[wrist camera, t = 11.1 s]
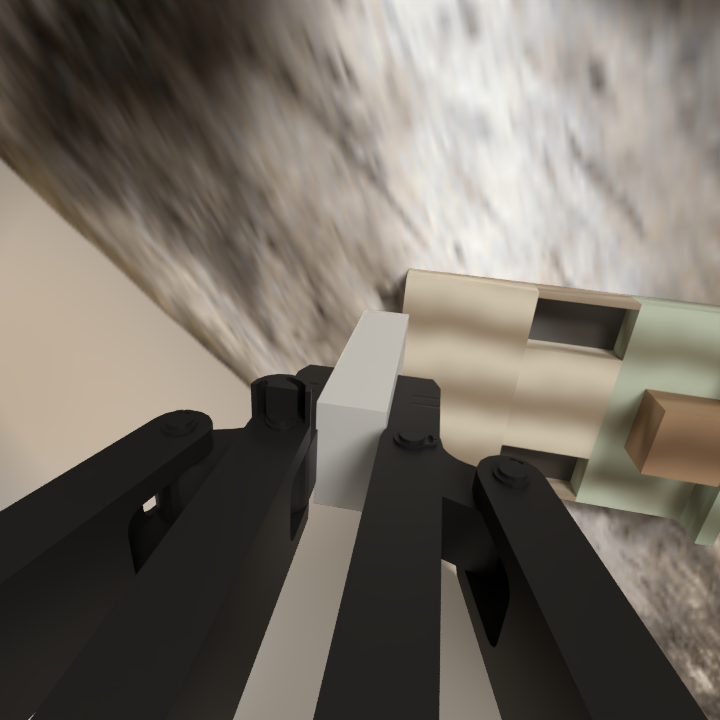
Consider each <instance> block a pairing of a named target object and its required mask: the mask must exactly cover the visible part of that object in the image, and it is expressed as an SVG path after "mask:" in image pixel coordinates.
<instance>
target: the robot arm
mask: <svg viewBox="0 0 720 720" xmlns="http://www.w3.org/2000/svg"><path fill="white" fill-rule="evenodd" d="M408 320H409V314H402V313H393V312H384V311H376V310H367V309H365V310H364V312H363V314H362V316H361V318H360V320H359V322H358V324H357V326H356V328H355V330H354V332H353V333H352V335H351V337H350V339H349V341H348V343H347V345H346V347H345V349H344V351H343V353H342V355H341V357H340V358H339V360H338V362H337V364H336V366H335V368H333V367H325V366H318V365H309V366H307V367H305V368H303V369H302V370H300V371H298V373H297V374H296V376H294V375H288V374H275V375H268V376H264V377H261V378H259V379H257V380H255V381H254V382H253V383H251V402H252V418H251V419H250V421H249V422H248V423H247V425H246V426H245V427H244V428H237V429H219V430H213V422H212V420H211V418H210V417H209V416H208V415H206V414H204V413H202V412H198V411H193V410H177V411H174V412H169V413H165V414H163V415H161V416H159V417H157V418H155V419H153V420H151V421H150V422H148V423H146V424H145V425H143V426H141V427H140V428H138V429H137V430H135V431H133V432H131V433H130V434H128V435H126V436H125V437H124V438H121V439H120V440H118V441H116V442H115V443H113V444H112V445H110V446H108V447H106V448H105V449H103V450H102V451H100V452H98V453H97V454H95V455H93V456H92V457H90V458H88V459H87V460H85V461H83V462H82V463H80V464H78V465H77V466H75V467H73V468H72V469H70V470H68V471H67V472H65V473H63V474H62V475H60V476H58V477H57V478H55V479H53V480H52V481H50V482H49V483H47V484H45V485H44V486H42V487H40V488H39V489H37V490H35V491H34V492H32V493H30V494H29V495H27V496H25V497H24V498H22V499H20V500H19V501H17V502H15V503H14V504H12V505H10V506H9V507H7V508H5V509H4V510H2V511H0V720H28V719H29V718H30V717H31V716H32V715H33V714H34V713H35V714H34V715H33V717H32V718H31V719H30V720H233V718H234V715H235V713H236V710H237V707H238V704H239V701H240V699H241V696H242V694H243V691H244V689H245V686H246V683H247V680H248V678H249V675H250V672H251V670H252V667H253V664H254V662H255V659H256V656H257V653H258V651H259V648H260V646H261V643H262V640H263V638H264V635H265V632H266V630H267V627H268V624H269V621H270V619H271V616H272V614H273V611H274V608H275V606H276V603H277V600H278V597H279V595H280V592H281V589H282V587H283V584H284V581H285V579H286V576H287V573H288V571H289V568H290V565H291V563H292V560H293V557H294V555H295V552H296V549H297V546H298V544H299V541H300V539H301V536H302V533H303V531H304V528H305V525H306V522H307V520H308V510H309V498H310V496H311V493H312V491H313V488H314V503H316V504H321V505H327V506H333V507H339V508H345V509H351V510H357V511H362V515H361V520H360V524H359V528H358V532H357V537H356V541H355V545H354V549H353V553H352V558H351V562H350V566H349V570H348V574H347V579H346V583H345V587H344V591H343V596H342V600H341V604H340V608H339V613H338V617H337V621H336V625H335V629H334V634H333V638H332V642H331V646H330V650H329V655H328V659H327V663H326V667H325V671H324V676H323V680H322V685H321V688H320V693H319V697H318V701H317V706H316V710H315V714H314V718H313V720H439V692H440V691H439V689H440V615H441V613H440V612H441V607H440V606H441V559H443V560H445V561H447V562H449V563H452V564H454V565H456V570H457V577H458V580H459V583H460V587H461V590H462V593H463V596H464V599H465V603H466V606H467V609H468V612H469V615H470V618H471V622H472V625H473V628H474V632H475V634H476V638H477V641H478V644H479V648H480V651H481V654H482V657H483V660H484V664H485V667H486V670H487V673H488V676H489V680H490V683H491V686H492V689H493V693H494V696H495V699H496V702H497V705H498V709H499V712H500V715H501V718H502V720H708V719H707V717H706V716H705V714H704V713H703V711H702V710H701V708H700V707H699V705H698V704H697V703H696V701H695V700H694V698H693V697H692V695H691V694H690V692H689V691H688V689H687V688H686V686H685V685H684V683H683V682H682V680H681V679H680V677H679V676H678V674H677V673H676V671H675V670H674V668H673V667H672V665H671V664H670V662H669V661H668V659H667V658H666V656H665V655H664V653H663V652H662V650H661V649H660V647H659V646H658V644H657V643H656V641H655V640H654V638H653V637H652V635H651V634H650V632H649V631H648V629H647V628H646V626H645V625H644V623H643V622H642V621H641V619H640V618H639V616H638V615H637V613H636V612H635V610H634V609H633V607H632V606H631V604H630V603H629V601H628V600H627V598H626V597H625V595H624V594H623V592H622V591H621V589H620V588H619V586H618V585H617V583H616V582H615V580H614V579H613V577H612V576H611V574H610V573H609V571H608V570H607V568H606V567H605V565H604V564H603V562H602V561H601V559H600V558H599V556H598V555H597V553H596V552H595V550H594V549H593V547H592V546H591V544H590V543H589V541H588V540H587V538H586V537H585V536H584V534H583V533H582V531H581V530H580V528H579V527H578V525H577V524H576V522H575V521H574V519H573V518H572V516H571V515H570V513H569V512H568V510H567V509H566V507H565V506H564V504H563V503H562V501H561V500H560V498H559V497H558V495H557V494H556V492H555V491H554V489H553V488H552V486H551V485H550V483H549V482H548V480H547V479H546V477H545V476H544V475H543V474H542V473H541V472H540V471H539V470H538V469H537V468H536V467H535V466H533V465H531V464H530V463H528V462H526V461H524V460H522V459H519V458H516V457H513V456H505V455H494V456H488V457H486V458H484V459H482V460H480V462H479V464H478V465H477V467H476V466H473V465H470V464H468V463H465V462H463V461H461V460H458V459H456V458H455V457H453V456H452V455H450V454H449V453H448V452H447V451H446V450H445V449H444V448H443V444H442V441H441V438H440V399H441V389H440V387H439V386H438V385H437V383H436V382H435V381H434V380H433V379H426V378H419V377H411V376H403V375H402V372H403V364H404V355H405V346H406V338H407V329H408ZM153 496H155V498H156V505H155V506H154V507H153V508H151V509H150V510H148V511H146V512H144V510H143V504H144V503H146V502H147V501H148V500H149V499H151V498H152V497H153Z"/></svg>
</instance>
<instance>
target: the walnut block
mask: <svg viewBox="0 0 720 720" xmlns="http://www.w3.org/2000/svg"><path fill="white" fill-rule="evenodd" d="M624 448H625V450H626V451H627V453H628V455H629V456H630V458H631V459H632V461H633V463H634V464H635V466H636V467H637V469H638V471H639V472H640V474H645V475H651V476H657V477H663V478H668V479H674V480H680V481H686V482H692V483H698V484H704V485H710V486H716V487H718V486H719V484H720V400H718V399H712V398H705V397H698V396H691V395H685V394H678V393H671V392H664V391H658V390H651V389H646V390H645V393H644V395H643V398H642V400H641V403H640V406H639V408H638V411H637V414H636V416H635V419H634V422H633V424H632V427H631V430H630V432H629V435H628V438H627V440H626V443H625V446H624Z"/></svg>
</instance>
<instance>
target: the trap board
mask: <svg viewBox="0 0 720 720" xmlns="http://www.w3.org/2000/svg"><path fill="white" fill-rule="evenodd" d="M402 314H409V320H408V329H407V338H406V346H405V355H404V364H403V372H402V375H403V376H411V377H419V378H426V379H433V380H434V381H435V382H436V383H437V385H438V386H439V387H440V389H441V399H440V438H441V441H442V444H443V448H444V449H445V450H446V451H447V452H448V453H449V454H450V455H452V456H453V457H455V458H456V459H458V460H461V461H463V462H465V463H468V464H470V465H473V466H476V467H477V465H478V464H479V462H480V460H482V459H484V458H486V457H488V456H494V455H505V456H513V457H516V458H519V459H522V460H524V461H526V462H528V463H530V464H531V465H533V466H535V467H536V468H537V469H538V470H539V471H540V472H541V473H542V474H543V475H544V476H545V477H546V479H547V480H548V482H549V483H550V485H551V486H552V488H553V489H554V491H555V492H556V494H557V495H558V497H559V498H560V499H563V500H569V501H575V502H580V503H586V504H592V505H597V506H603V507H609V508H615V509H620V510H626V511H632V512H637V513H643V514H649V515H654V516H660V517H666V518H671V519H677V520H679V521H680V522H681V524H682V525H683V527H684V528H685V530H686V531H687V533H688V534H689V536H690V537H691V539H692V540H693V542H694V543H696V544H702V545H707V546H713V544H714V542H715V540H716V538H717V536H718V534H719V532H720V484H719V486H718V487H716V486H710V485H704V484H698V483H692V482H686V481H680V480H674V479H668V478H663V477H657V476H651V475H645V474H640V472H639V471H638V469H637V467H636V466H635V464H634V463H633V461H632V459H631V458H630V456H629V455H628V453H627V451H626V450H625V448H624V446H625V443H626V440H627V438H628V435H629V432H630V430H631V427H632V424H633V422H634V419H635V416H636V414H637V411H638V408H639V406H640V403H641V400H642V398H643V395H644V393H645V390H646V389H651V390H658V391H664V392H671V393H678V394H685V395H691V396H698V397H705V398H712V399H718V400H720V306H715V305H707V304H699V303H691V302H682V301H674V300H666V299H658V298H650V297H641V296H633V295H625V294H617V293H608V292H600V291H592V290H584V289H575V288H567V287H559V286H551V285H542V284H534V283H526V282H518V281H509V280H501V279H493V278H485V277H476V276H468V275H460V274H452V273H443V272H435V271H427V270H419V269H411V268H410V269H409V272H408V274H407V280H406V288H405V296H404V304H403V311H402Z"/></svg>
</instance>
